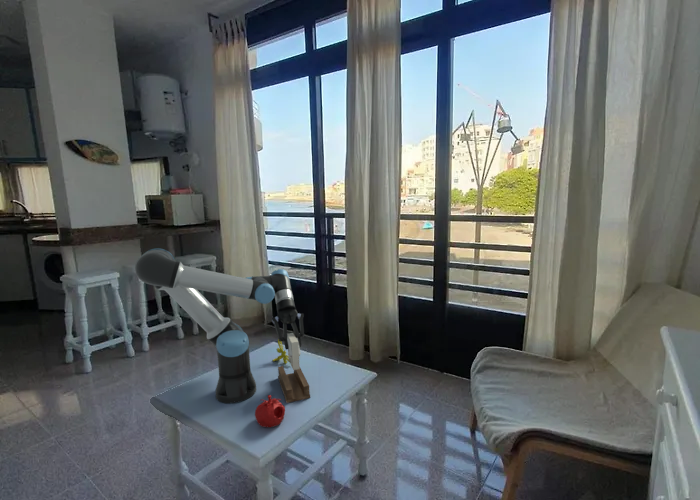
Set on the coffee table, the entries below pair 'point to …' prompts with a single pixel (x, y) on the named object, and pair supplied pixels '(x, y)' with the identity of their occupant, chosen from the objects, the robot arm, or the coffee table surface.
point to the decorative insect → (283, 353)
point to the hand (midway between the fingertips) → (295, 355)
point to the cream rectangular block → (293, 351)
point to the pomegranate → (270, 412)
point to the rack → (293, 385)
